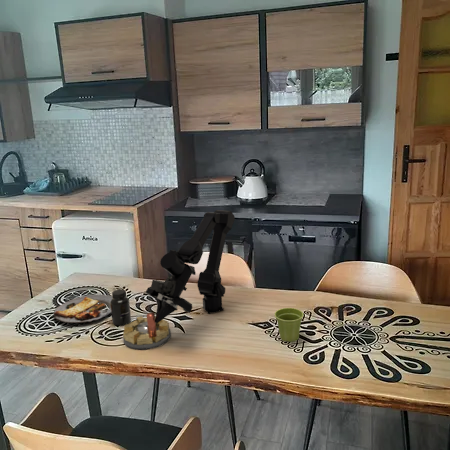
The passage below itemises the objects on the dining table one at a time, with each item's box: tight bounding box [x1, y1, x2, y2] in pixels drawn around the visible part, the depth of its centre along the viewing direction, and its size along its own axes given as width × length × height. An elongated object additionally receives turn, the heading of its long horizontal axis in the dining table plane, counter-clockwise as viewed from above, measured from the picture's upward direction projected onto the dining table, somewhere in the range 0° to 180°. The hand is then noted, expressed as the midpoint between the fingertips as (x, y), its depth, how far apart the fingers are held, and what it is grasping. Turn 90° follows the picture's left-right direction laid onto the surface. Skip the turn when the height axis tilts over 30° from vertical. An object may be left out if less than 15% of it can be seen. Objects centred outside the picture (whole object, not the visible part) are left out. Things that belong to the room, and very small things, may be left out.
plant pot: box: [274, 307, 304, 343], centre depth 150 cm, size 9×9×9 cm
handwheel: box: [122, 312, 170, 345], centre depth 154 cm, size 15×15×10 cm
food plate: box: [52, 294, 113, 324], centre depth 177 cm, size 25×23×4 cm
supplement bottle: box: [110, 289, 132, 327], centre depth 166 cm, size 7×7×12 cm
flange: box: [122, 322, 172, 351], centre depth 155 cm, size 16×16×5 cm
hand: (156, 322), depth 148 cm, fingers closed, pressing on handwheel
